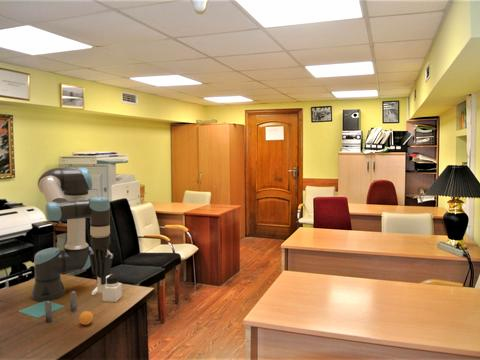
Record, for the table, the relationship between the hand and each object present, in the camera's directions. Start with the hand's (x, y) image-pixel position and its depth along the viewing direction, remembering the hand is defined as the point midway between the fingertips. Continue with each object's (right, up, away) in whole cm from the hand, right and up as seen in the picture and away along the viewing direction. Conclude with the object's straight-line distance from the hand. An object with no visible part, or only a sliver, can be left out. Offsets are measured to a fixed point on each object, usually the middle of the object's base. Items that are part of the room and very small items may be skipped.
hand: (101, 291), depth 160 cm
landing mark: (-35, -14, +20) cm, 43 cm away
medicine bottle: (-6, -13, +33) cm, 36 cm away
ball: (-9, -13, +6) cm, 17 cm away
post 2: (-20, -14, +19) cm, 31 cm away
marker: (-18, -13, +45) cm, 50 cm away
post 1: (-26, -15, +8) cm, 31 cm away
